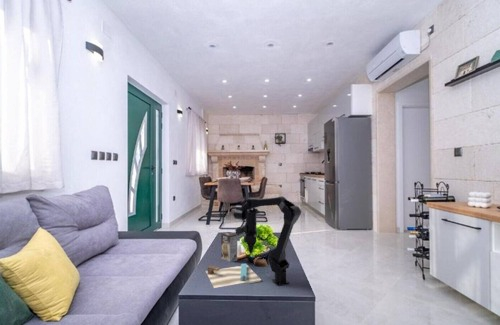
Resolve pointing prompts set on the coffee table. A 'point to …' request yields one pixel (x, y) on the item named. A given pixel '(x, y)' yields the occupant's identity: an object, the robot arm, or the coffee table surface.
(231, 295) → the coffee table surface
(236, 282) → the base board
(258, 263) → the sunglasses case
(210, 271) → the keeper
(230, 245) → the coffee box
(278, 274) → the robot arm
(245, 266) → the link bar
